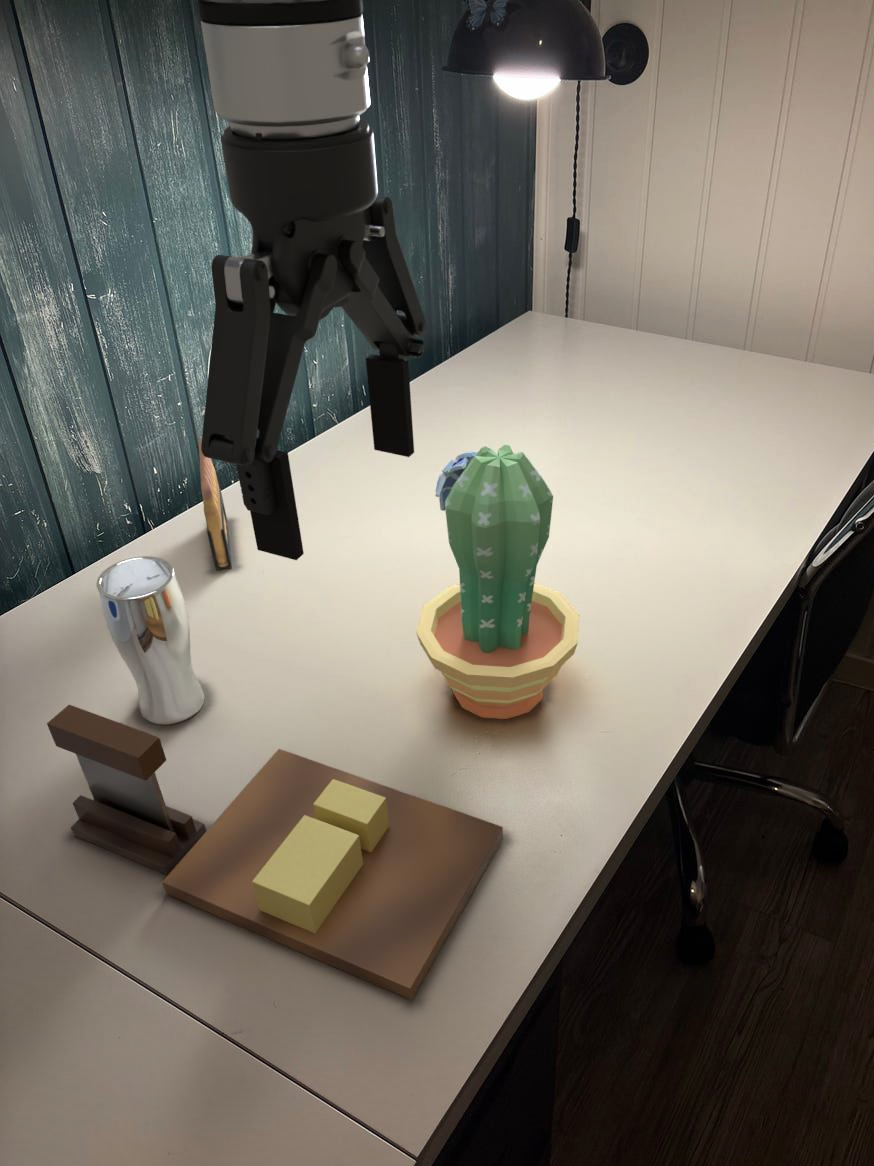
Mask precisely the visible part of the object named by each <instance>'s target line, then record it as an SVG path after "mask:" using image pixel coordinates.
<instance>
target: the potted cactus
mask: <svg viewBox="0 0 874 1166" xmlns="http://www.w3.org/2000/svg"><path fill="white" fill-rule="evenodd" d="M441 472H442V473H440V475H439V476H438V479H437V481H436V487H435V495H434V496H435V497H437V498H439V499H438V500H439V509H440V511H442V512H445V519H446V527H447V528H446V529H447V538H448V544H449V547H450V549H451V552H452V554H453V557H454V559H455V562H456V564H457V567H458V570H459V571H458V573H459V575H458V576H459V583H458V584H454V585H450V586H448V587H446V588H445V589H443V591H441V592H440V593H439V594H437V595H436V596H435V597H433V598H431V600H430V601H428V602H426V603H425V604H424V605H422V609H421V613H420V615H419V619H418V624H417V626H416V630H415V633H416V636H417V639H418V643H419V645H420V646H421V648H422V649H423V651H424V653H425V654H426V656H427V658H428V659H429V661H430V663H431V664H432V666H433V668H434V669H435V670H436V671H437V670H438V671H439V672H440V673H441V675H442V676H443V678H444V679H445V681H446V683H447V684H448V686H449V687H450V688H451V689H452V694H453V696H454V697H455V698H456V700H457V701H458V703H459V705H460V706H461V708H462V709H464V710H466V711H469V712H470V713H472V714H474V715H476V716H478V717H480V718H483V719H484V718H485V719H498V720H499V719H500V720H508V719H511V718H514V717H518V716H521V715H525V714H528V713H530V712H531V710H533V708H535V707H536V706H537V705H538V704H539V703H540V702H541V701H542V700H543V699H544V698H543V697H544V688H545V687H547V685H549V684H550V682H552V681H553V680H554V678H556V677H557V675H558V674H559V671H560V670H561V667H562V666H564V664H565V663H566V662H568V660H569V659H571V657H572V656H574V654H575V652H576V649H577V646H578V643H579V634H580V633H579V632H580V619H581V617H580V614H579V613H578V611H576V610H575V608H574V607H573V606H572V605H571V604H570V602H569V601H568V600H567V599H566V598H565V596H564V595H563V594H562V593H561V592H559V591H556V590H554V589H551V588H549V587H546V586H544V585H541V584H540V583H537V582H535V580H536V574H537V567H538V564H539V561H540V560H541V556H542V554H543V552H544V549H545V547H546V545H547V543H548V540H549V538H550V531H551V521H552V511H553V502H554V495H553V493H552V490H551V489H550V487H549V486H548V484H547V482H546V481H545V479H544V478H543V476H542V475H541V473H540V472H539V470H538V469H536V467H535V466H534V465H533V462H531V461H530V459H529V458H528V457H527V456H526V454H525V453H524V452H523V451H521V452H516V453H514V452H513V450H512V447H511V445H509V444H503V445H502V446H500V447H499V448H498V449H497V453H496V451H494V450H493V449H492V448H490V447H488V446H486V445H485V446H482V447H481V448H480V449H479V450H478V451H477V452H476V451H473V450H469V451H467V452H466V451H465V452H464V453H462V454H458V455H457V456H456V458H455V459H451V460H450V461H449V462H448V463H447V464H446V466H445V467H444V468H443V469H442V470H441Z"/></svg>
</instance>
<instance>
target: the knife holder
mask: <svg viewBox="0 0 874 1166" xmlns="http://www.w3.org/2000/svg"><path fill="white" fill-rule="evenodd" d="M71 803H72V806H73V808H74V811H75V813H76V815H77V818H78V819H77V820H76V821H75V822H74V823H73V824H72V826H70V830H71V832H72V834H73V836H74V837H78V838H80V839H82V840H85V841H87V842H89V843H92V844H94V845H96V846H99V847H101V848H104V849H106V850H108V851H109V852H112V853H115V854H118V855H119V856H122V857H125V858H127V859H130V860H131V861H133V862H137V863H139V864H141V865H143V866H146V867H149V868H151V869H153V870H156V871H157V872H160V873H163V874H165V875H166V876H168V875H169V874H170V872H171V871H172V870H173V869H174V868H175V867H176V866H177V864H178V863H179V862H180V861H181V860H182V859H183V858H184V856H185V855H186V854H187V853H188V852H189V851H190V850H191V848H192V847H193V846H194V845H195V844H196V843H197V842H198V840H199V839H200V838H201V837H202V836H203V835H204V834H205V832H206V831H207V827H206V825H205V823H204V822H201V821H199V820H196V819H194V817H193V816H192V815H190V814H189V813H188V814H187V813H185V812H184V811H183V812H182V811H180V810H178V809H176V808H173V807H170V806H167V805H166V808H167V811H168V814H169V817H170V820H171V823H172V826H173V829H174V832H175V833H173V832H171V831H168V830H166V829H164V828H161V827H159V826H156V825H154V824H151V823H149V822H146V821H144V820H141V819H139V818H136V817H134V816H131V815H129V814H126V813H124V812H121V811H119V810H117V809H114V808H112V807H109V806H107V805H104V804H102V803H99V802H97V801H94V799H92V798H90V797H87V796H85V795H82V794H80V795H79V796H77V798H76V799H75V800H73V802H71Z"/></svg>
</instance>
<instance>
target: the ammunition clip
mask: <svg viewBox="0 0 874 1166" xmlns="http://www.w3.org/2000/svg"><path fill="white" fill-rule="evenodd" d="M201 444H202V437H200V439H199V442H198V455H199V456H198V457H199V472H200V473H199V474H200V489H201V495H202V502H203V513H204V518H205V522H206V533H207V538H208V542H209V547H210V550H211V555H212V559H213V564H214V569H215V570H216V571H218V570H223V569H232V568H233V565H232V554H231V543H230V541H231V540H230V532H229V521H228V517H227V513H226V512H227V511H226V509H225V507H226V506H225V503H224V498H223V493H222V490H221V487H220V485H219V480H218V477H217V472H216V469H215V467H214V465H213V459H211V458H207V457H205V456H204V455H203V454H202V451H201Z"/></svg>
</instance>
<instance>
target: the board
mask: <svg viewBox="0 0 874 1166" xmlns="http://www.w3.org/2000/svg"><path fill="white" fill-rule="evenodd" d="M333 779H334V780H337V781H340V782H343V783H346V784H349V785H351V786H354V787H357V788H360V789H363V790H365V791H368V792H371V793H374V794H377V795H380V796H382V797H385V798H386V802H387V811H388V820H389V827H388V829H387V830H386V832H385V833H384V835H383V836H382V837H381V839H380V840H379V842H378V843H377V845H376V846H375V848H374V849H373V851H372V852H368V851H366V850H363V849H361V852H362V859H363V865H362V867H361V868H360V869H359V871H358V872H357V874H356V875H355V877H354V878H353V880H352V881H351V882H350V884H349V885H348V887H347V888H346V890H345V891H344V893H343V894H342V895H341V897H340V898H339V900H338V901H337V903H336V904H335V906H334V907H333V909H332V910H331V911H330V913H329V914H328V916H327V917H326V919H325V920H324V922H323V923H322V924H321V926H320V927H319V929H318V930H317V932H316V933H312V932H310V931H308V930H305V929H303V928H301V927H298V926H296V925H294V924H291V923H289V922H286V921H284V920H282V919H279V918H277V917H275V916H272V915H270V914H268V913H265V912H263V911H260V910H259V906H258V902H257V899H256V895H255V891H254V887H253V884H252V881H253V880H254V878H255V877H256V876H257V875H258V873H259V872H260V871H261V870H262V868H263V867H264V866H265V864H266V863H267V862H268V861H269V859H270V858H271V857H272V856H273V854H274V853H275V852H276V851H277V849H278V848H279V847H280V845H281V844H282V843H283V842H284V840H285V839H286V838H287V837H288V835H289V834H290V833H291V831H292V830H293V829H294V828H295V826H296V825H297V824H298V823H299V821H300V820H301V819H302V818H303V816H304V815H306V816H308V817H311V818H314V819H316V817H315V811H314V806H313V804H314V802H315V801H316V800H317V799H318V797H319V796H320V795H321V794H322V792H323V791H324V790H325V788H326V787H327V786H328V785H329V783H330V782H331V781H332V780H333ZM503 830H504V828H503V825H502V826H501V825H498V824H495V823H493V822H490V821H487V820H484V819H482V818H479V817H475V816H472V815H470V814H467V813H464V812H461V811H458V810H456V809H453V808H450V807H447V806H444V805H442V804H439V803H436V802H432V801H430V800H427V799H425V798H422V797H418V796H416V795H413V794H410V793H407V792H405V791H401V790H398V789H397V788H392V787H390V786H387V785H384V784H381V783H378V782H375V781H373V780H369V779H368V778H364V777H361V776H359V775H356V774H353V773H350V772H347V771H344V770H341V769H338V768H336V767H332V766H330V765H327V764H324V763H321V762H319V761H316V760H313V759H310V758H308V757H304V756H302V755H298V754H296V753H293V752H290V751H287V750H284V749H281V748H278V749H277V750H276V751H275V753H273V755H272V756H271V757H269V759H268V760H267V762H265V764H264V765H263V766H262V767H261V769H259V771H258V772H256V774H255V776H253V778H252V779H251V780H250V781H249V782H248V784H246V786H244V788H243V789H242V790H241V791H240V792H239V794H238V795H237V796H236V797H235V798H234V799H233V800H232V802H231V803H230V804H228V806H227V807H226V808H225V809H224V811H222V813H221V814H220V815H219V816H218V817H217V818H216V820H215V821H214V822H213V823H212V824H211V825H210V827H208V829H206V832H205V833H204V834H203V836H202V837H201V838H200V839H199V840H198V841H197V842H196V844H195V845H194V846H193V847H192V848H191V849H190V850H189V851H188V853H187V854H186V855H185V856H184V857H183V858H182V859H181V861H180V862H179V863H178V864H177V865H176V866H175V867H174V869H173V870H172V871H171V872H170V873H169V874H168V875H166V877H165V878H164V879H163V880H162V881H161V884H162V886H163V890H164V893H165V894H166V895H168V896H170V897H173V898H176V899H177V900H180V901H182V902H184V903H187V904H189V905H191V906H194V907H196V908H198V909H201V910H203V911H205V912H207V913H210V914H212V915H215V916H217V917H219V918H221V919H224V920H226V921H228V922H231V923H232V924H235V925H238V926H240V927H242V928H244V929H246V930H249V931H251V932H254V933H256V934H258V935H261V936H263V937H264V938H265V937H266V938H267V939H270V940H272V941H275V942H277V943H279V944H282V945H284V946H286V947H289V948H290V949H292V950H296V951H297V952H299V953H303V954H305V955H307V956H309V957H311V958H313V959H317V960H318V961H321V962H323V963H326V964H328V965H330V966H332V967H335V968H337V969H339V970H341V971H344V972H345V973H349V974H351V975H353V976H356V977H357V978H360V979H362V980H365V981H367V982H369V983H370V984H371V983H372V984H374V985H376V986H378V987H380V988H383V989H385V990H387V991H390V992H392V993H395V994H397V995H399V996H402V997H404V998H406V999H408V1000H413V998H414V997H415V995H416V993H417V991H418V989H419V988H420V986H421V984H422V982H423V980H425V977H426V975H427V973H428V972H429V970H430V968H431V966H432V964H433V963H434V962H435V959H436V957H437V956H438V954H439V952H440V950H441V949H442V947H443V945H444V943H445V942H446V940H447V938H448V936H449V935H450V933H451V931H452V929H453V927H454V926H455V924H456V922H457V920H458V918H459V917H460V915H461V913H462V911H463V910H464V908H465V906H466V904H467V902H468V901H469V899H470V897H471V895H472V894H473V892H474V890H475V888H476V887H477V885H478V883H479V881H480V880H481V878H482V876H483V874H484V873H485V870H487V867H488V865H489V864H490V862H491V859H493V856H494V855H495V853H496V852H497V850H498V848H499V846H500V845H501V843H502V841H503V839H504V835H503V832H504V831H503Z"/></svg>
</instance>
